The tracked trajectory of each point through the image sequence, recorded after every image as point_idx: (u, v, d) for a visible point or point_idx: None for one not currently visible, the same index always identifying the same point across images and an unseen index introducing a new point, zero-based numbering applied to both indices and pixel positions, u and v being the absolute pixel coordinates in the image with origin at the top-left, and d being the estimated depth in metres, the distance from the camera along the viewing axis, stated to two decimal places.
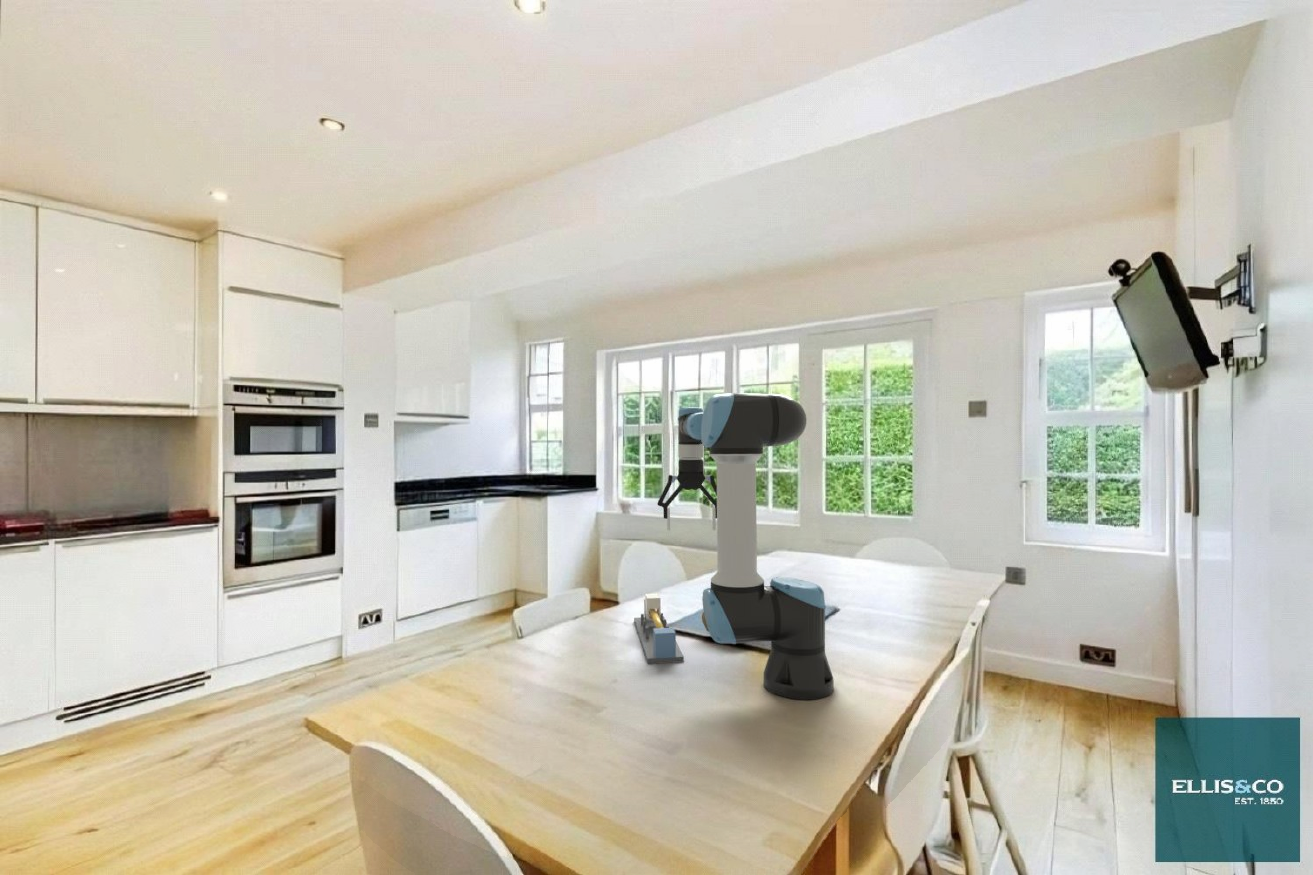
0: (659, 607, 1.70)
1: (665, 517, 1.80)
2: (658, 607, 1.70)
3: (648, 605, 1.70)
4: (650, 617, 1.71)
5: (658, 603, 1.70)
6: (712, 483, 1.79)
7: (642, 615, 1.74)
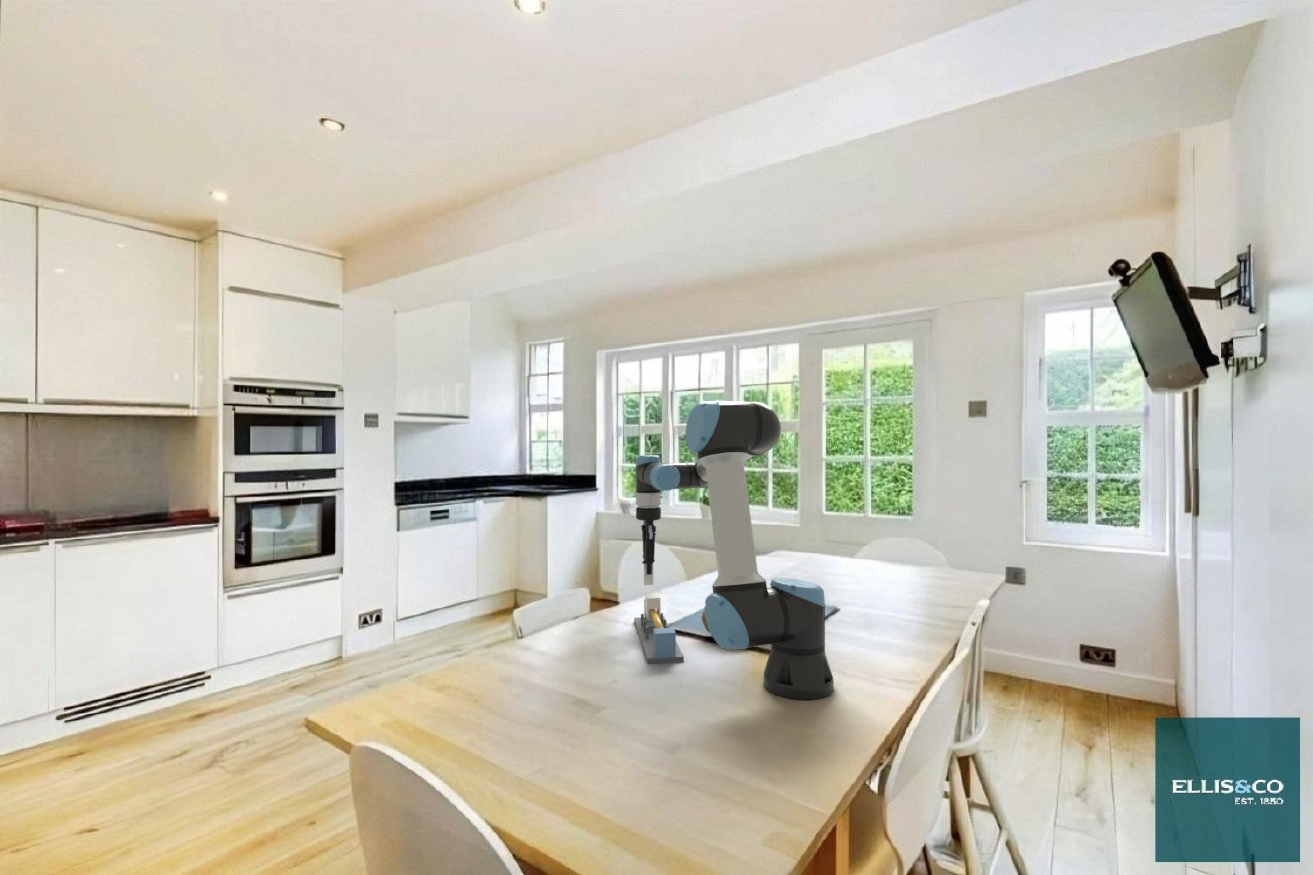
0: (659, 607, 1.70)
1: None
2: (658, 607, 1.70)
3: (648, 605, 1.70)
4: (650, 617, 1.71)
5: (658, 603, 1.70)
6: (646, 539, 1.77)
7: (642, 615, 1.74)
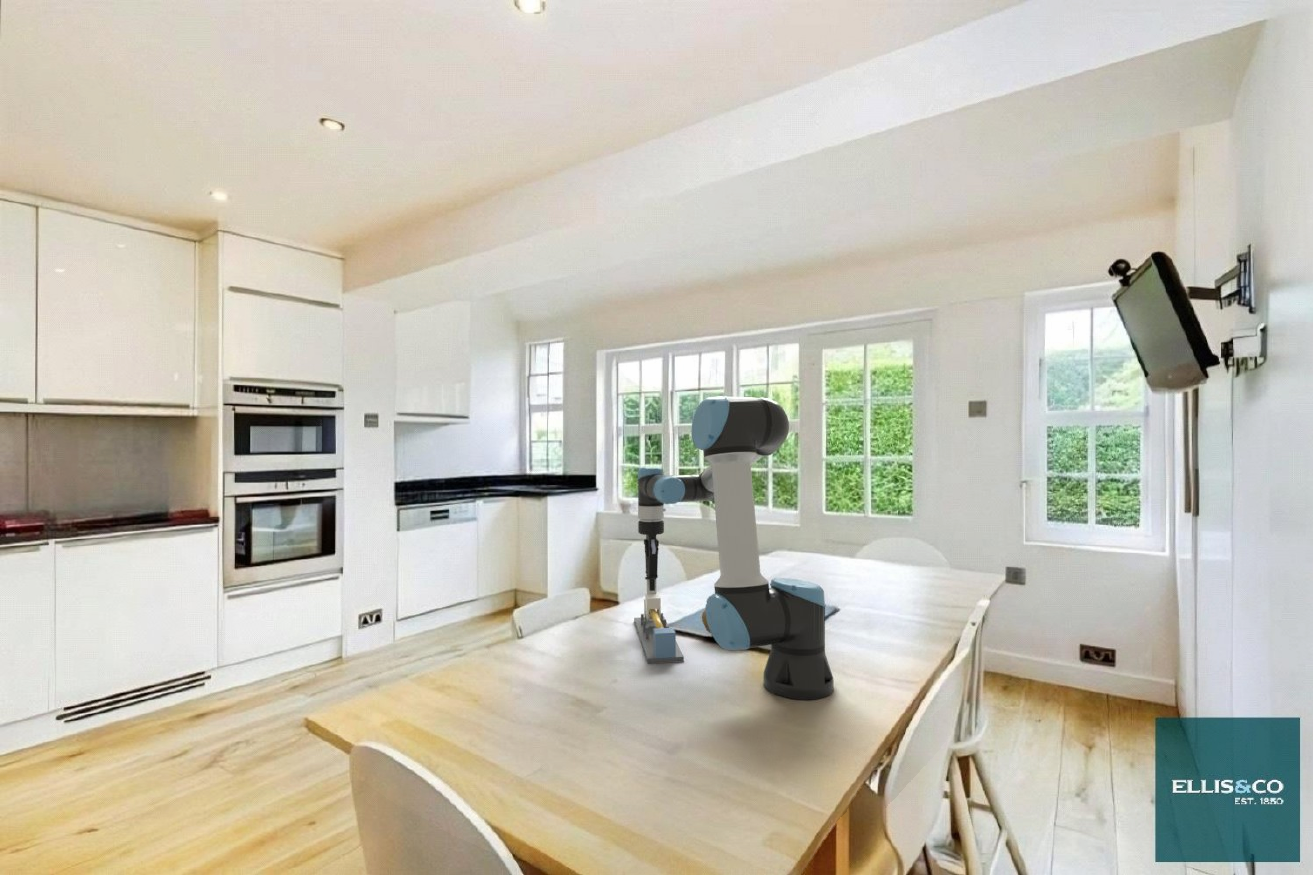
0: (659, 607, 1.70)
1: None
2: (658, 607, 1.70)
3: (648, 605, 1.69)
4: (650, 617, 1.71)
5: (658, 603, 1.70)
6: (649, 554, 1.71)
7: (642, 615, 1.74)
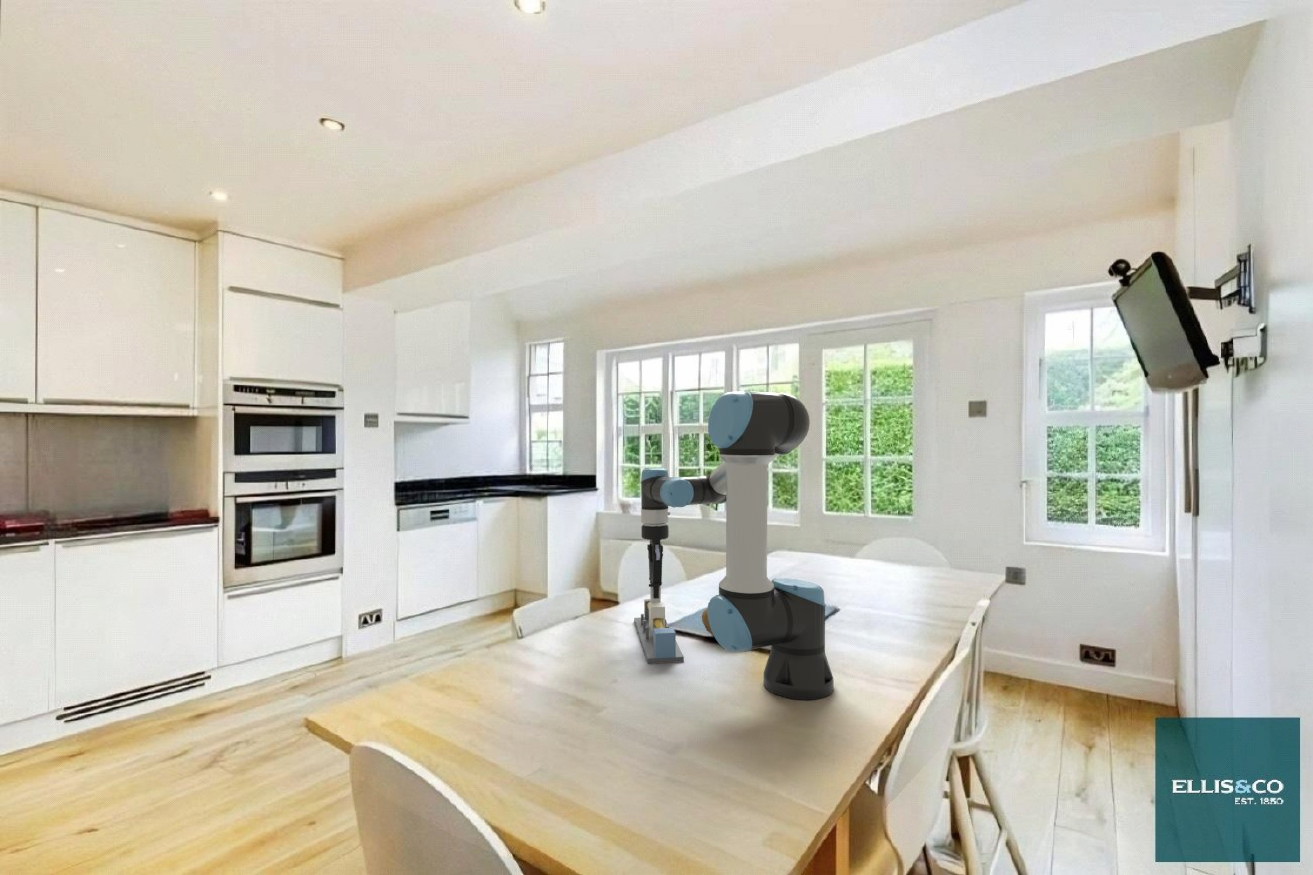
0: (664, 616, 1.61)
1: None
2: (663, 616, 1.61)
3: (652, 614, 1.61)
4: (654, 627, 1.62)
5: (663, 612, 1.61)
6: (653, 560, 1.62)
7: (642, 615, 1.74)
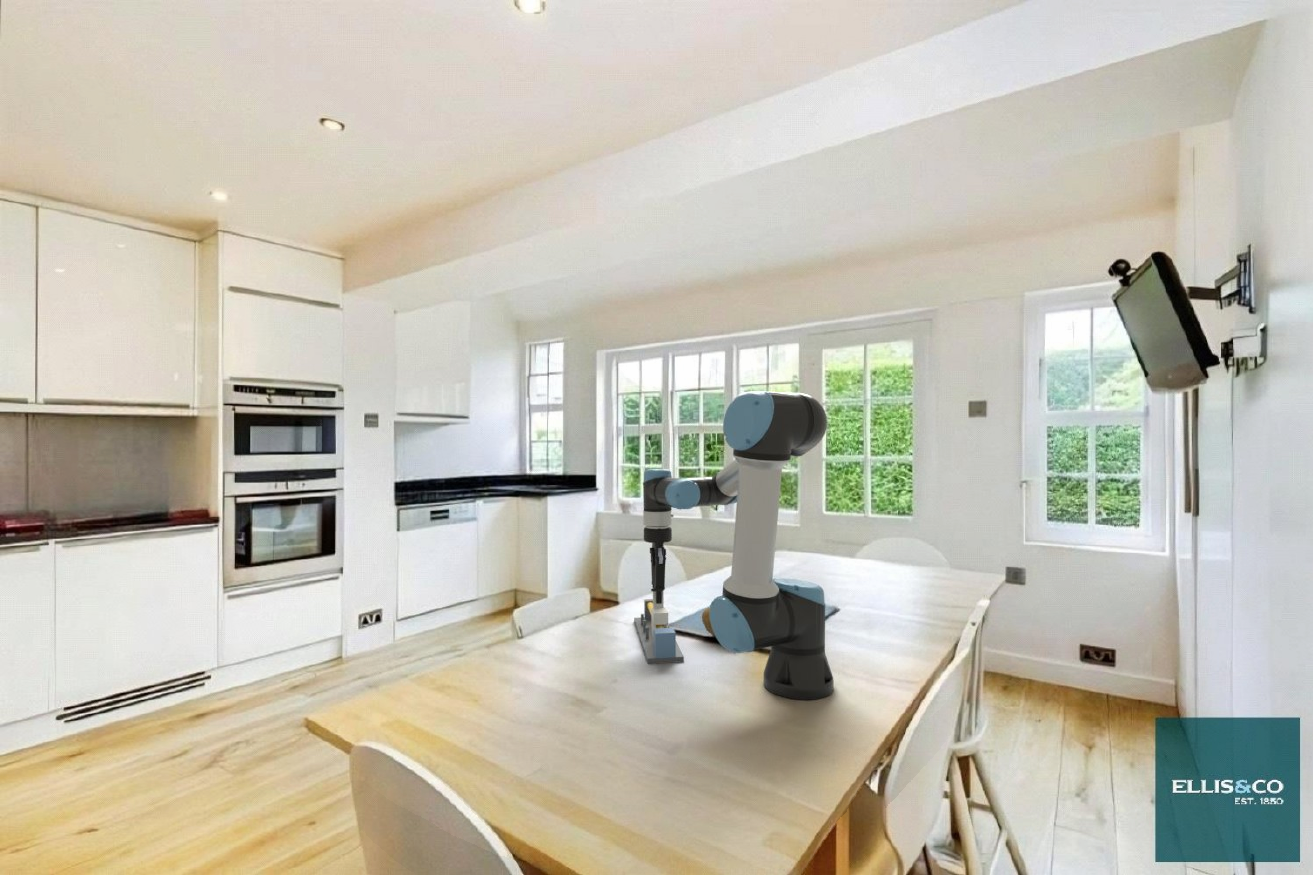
0: (667, 623, 1.56)
1: None
2: (666, 623, 1.55)
3: (655, 620, 1.55)
4: None
5: (666, 618, 1.55)
6: (655, 563, 1.56)
7: (642, 615, 1.74)
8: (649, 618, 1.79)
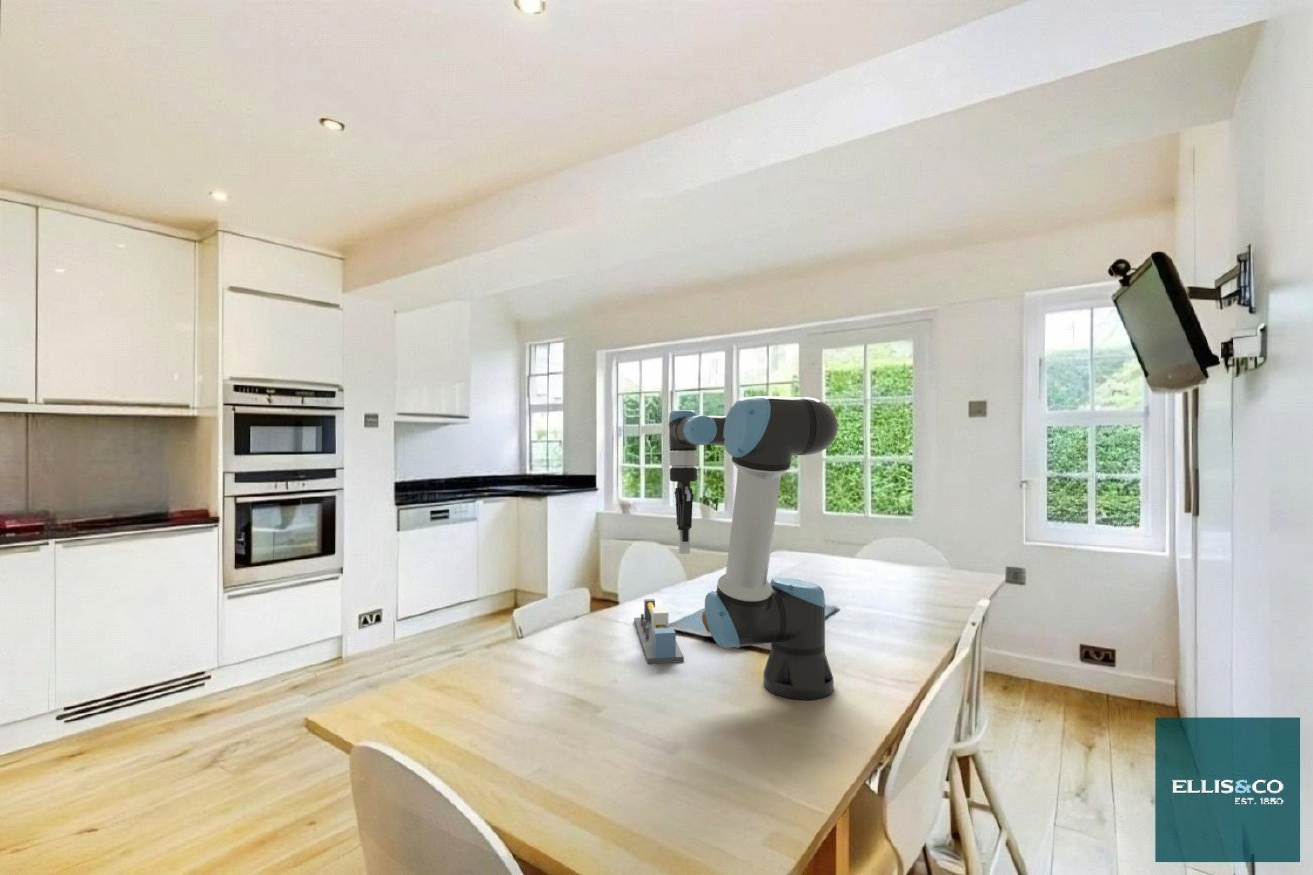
0: (667, 623, 1.55)
1: None
2: (666, 623, 1.55)
3: (655, 621, 1.55)
4: None
5: (666, 618, 1.55)
6: (683, 501, 1.60)
7: (642, 615, 1.74)
8: (649, 618, 1.79)
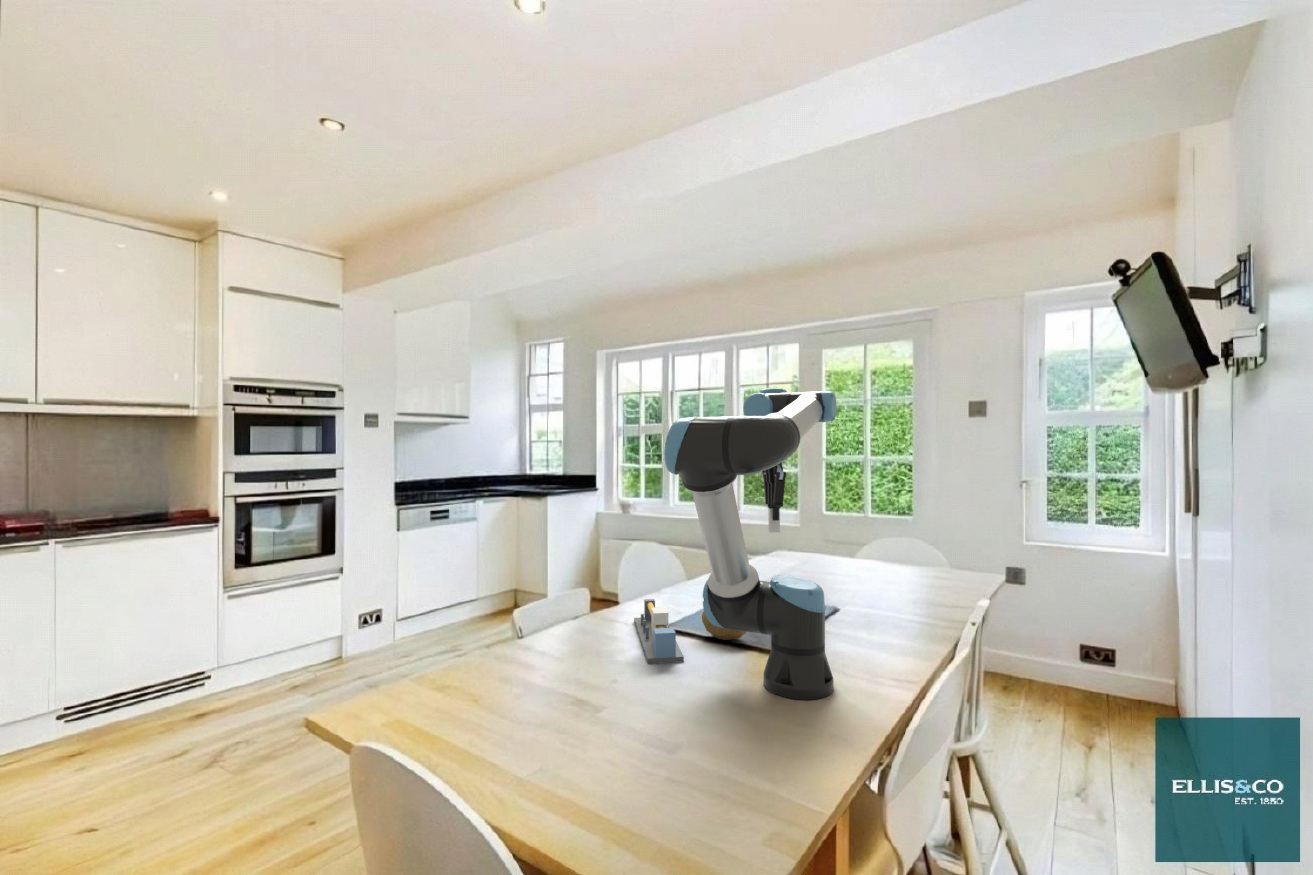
0: (667, 623, 1.55)
1: None
2: (666, 623, 1.55)
3: (655, 621, 1.55)
4: None
5: (666, 618, 1.55)
6: (775, 479, 1.59)
7: (642, 615, 1.74)
8: (649, 618, 1.79)
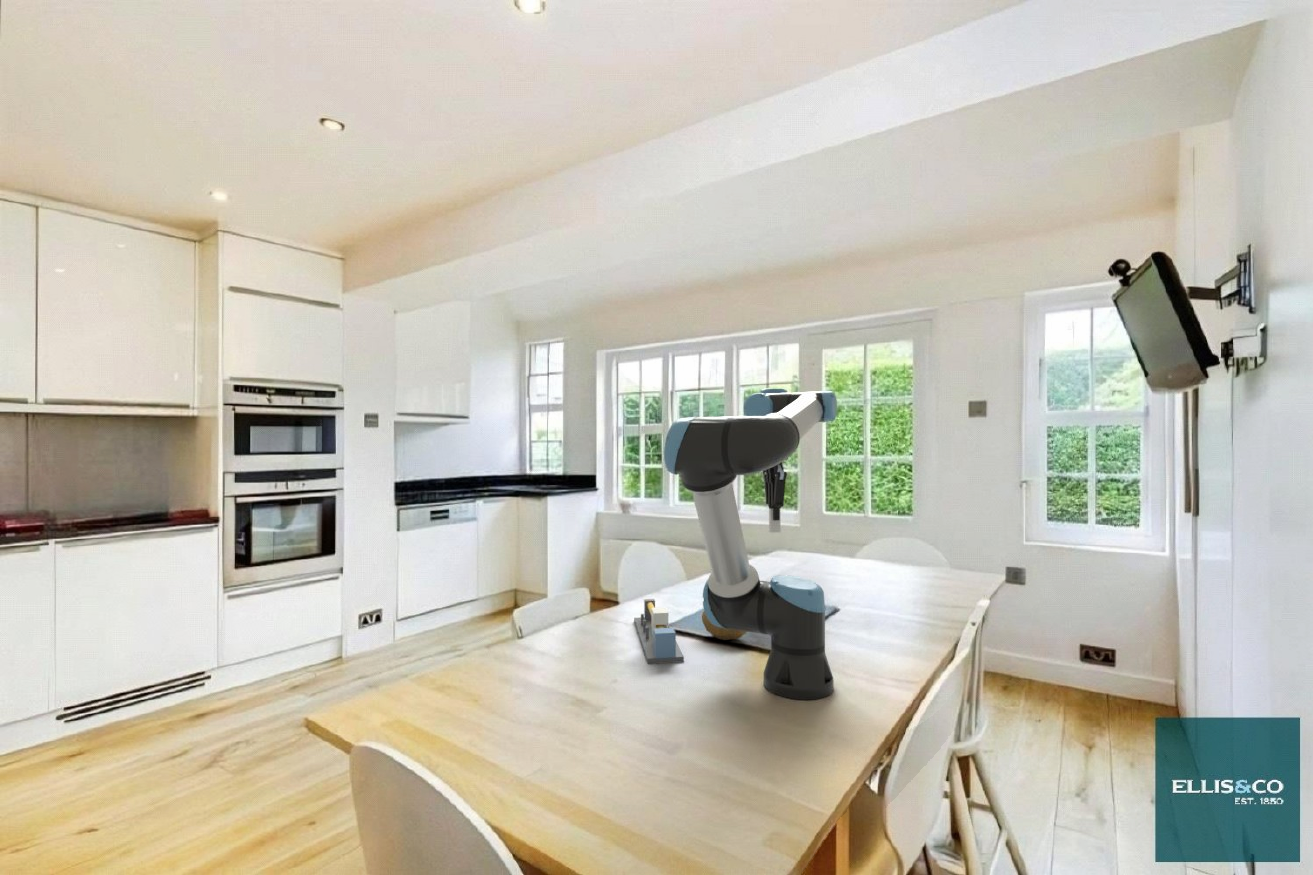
0: (667, 623, 1.55)
1: None
2: (666, 623, 1.55)
3: (655, 621, 1.55)
4: None
5: (666, 618, 1.55)
6: (775, 479, 1.59)
7: (642, 615, 1.74)
8: (649, 618, 1.79)
